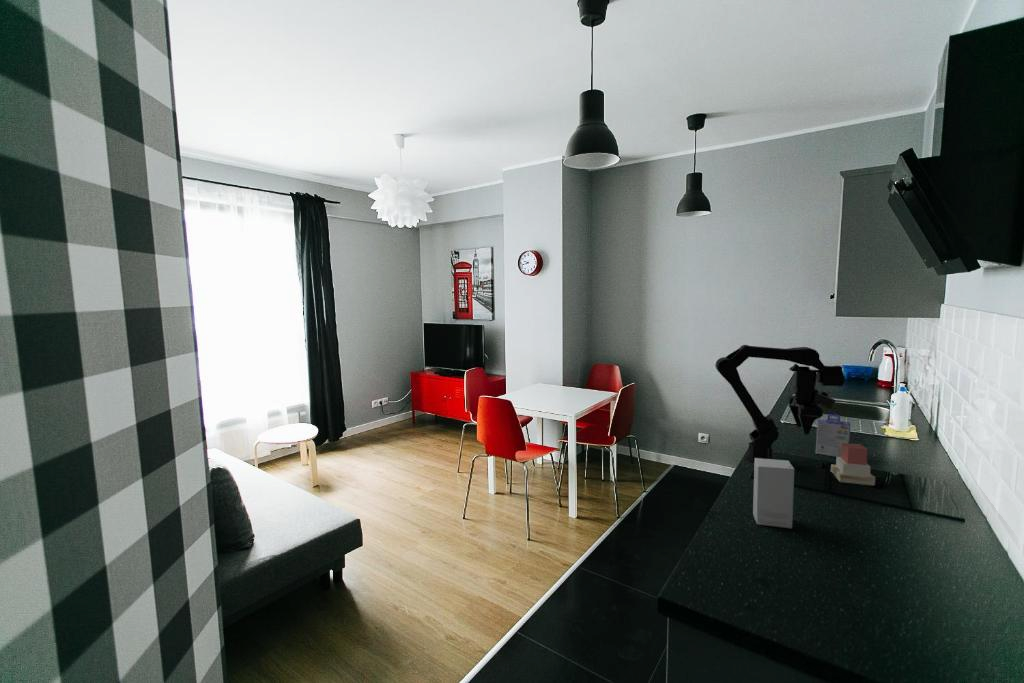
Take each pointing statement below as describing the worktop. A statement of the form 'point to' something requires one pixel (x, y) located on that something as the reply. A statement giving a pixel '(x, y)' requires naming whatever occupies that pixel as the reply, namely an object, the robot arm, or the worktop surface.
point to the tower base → (852, 477)
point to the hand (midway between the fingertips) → (802, 430)
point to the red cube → (854, 453)
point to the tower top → (852, 468)
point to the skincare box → (773, 492)
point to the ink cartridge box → (831, 436)
